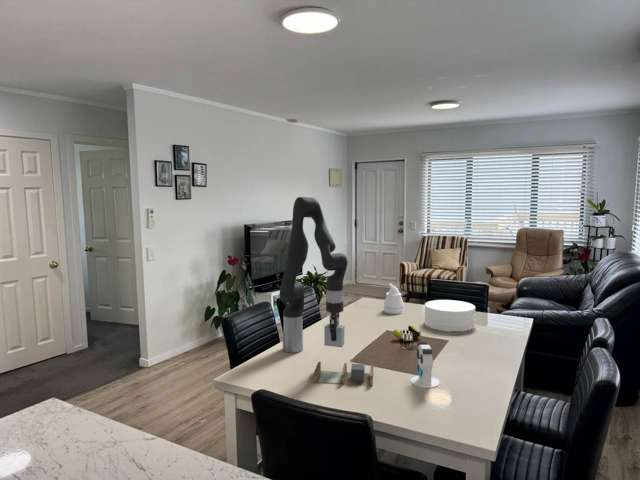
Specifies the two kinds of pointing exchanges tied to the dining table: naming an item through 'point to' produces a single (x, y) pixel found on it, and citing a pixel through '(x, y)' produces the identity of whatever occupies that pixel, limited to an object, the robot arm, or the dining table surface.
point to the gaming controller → (411, 328)
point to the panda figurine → (424, 367)
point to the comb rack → (340, 377)
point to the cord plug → (357, 372)
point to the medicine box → (339, 336)
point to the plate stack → (449, 315)
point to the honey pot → (393, 301)
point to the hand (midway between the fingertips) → (334, 338)
